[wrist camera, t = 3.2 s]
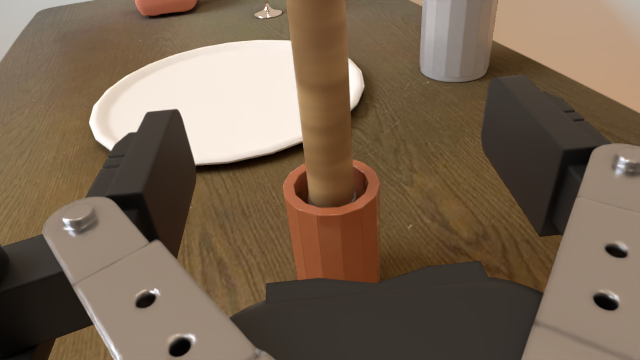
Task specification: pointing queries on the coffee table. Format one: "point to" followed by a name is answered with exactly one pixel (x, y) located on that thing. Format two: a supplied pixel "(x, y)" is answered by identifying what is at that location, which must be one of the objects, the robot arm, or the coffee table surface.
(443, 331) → the robot arm
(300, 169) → the holder
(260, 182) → the coffee table surface
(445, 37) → the grey faceted cup
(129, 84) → the plate
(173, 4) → the teapot
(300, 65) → the light brown wooden rod
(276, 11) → the wineglass
